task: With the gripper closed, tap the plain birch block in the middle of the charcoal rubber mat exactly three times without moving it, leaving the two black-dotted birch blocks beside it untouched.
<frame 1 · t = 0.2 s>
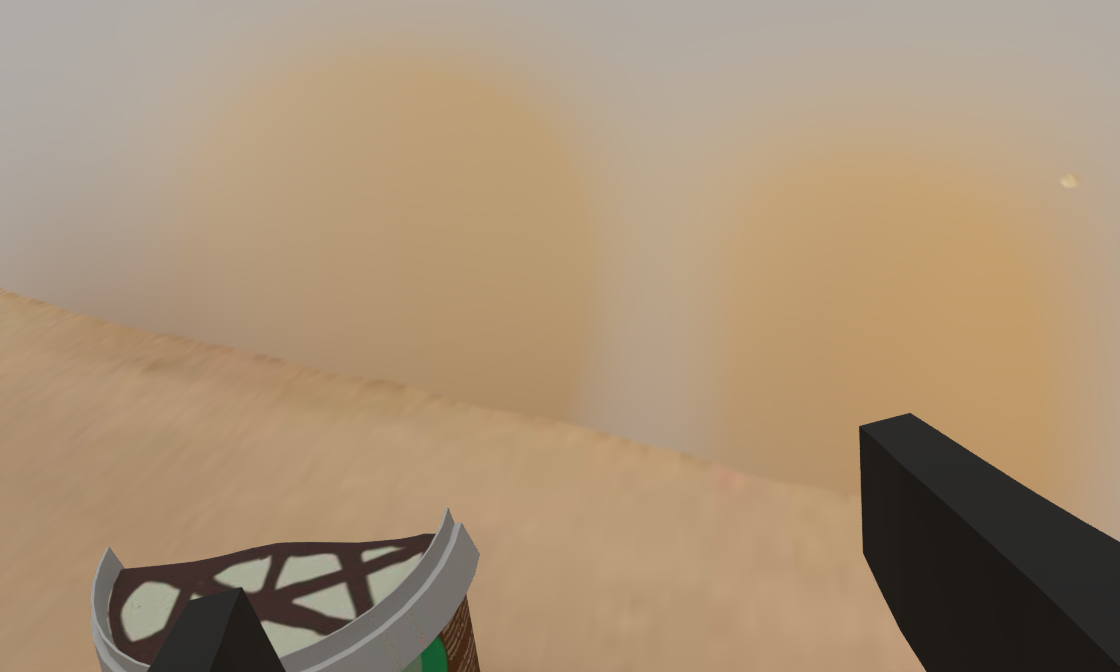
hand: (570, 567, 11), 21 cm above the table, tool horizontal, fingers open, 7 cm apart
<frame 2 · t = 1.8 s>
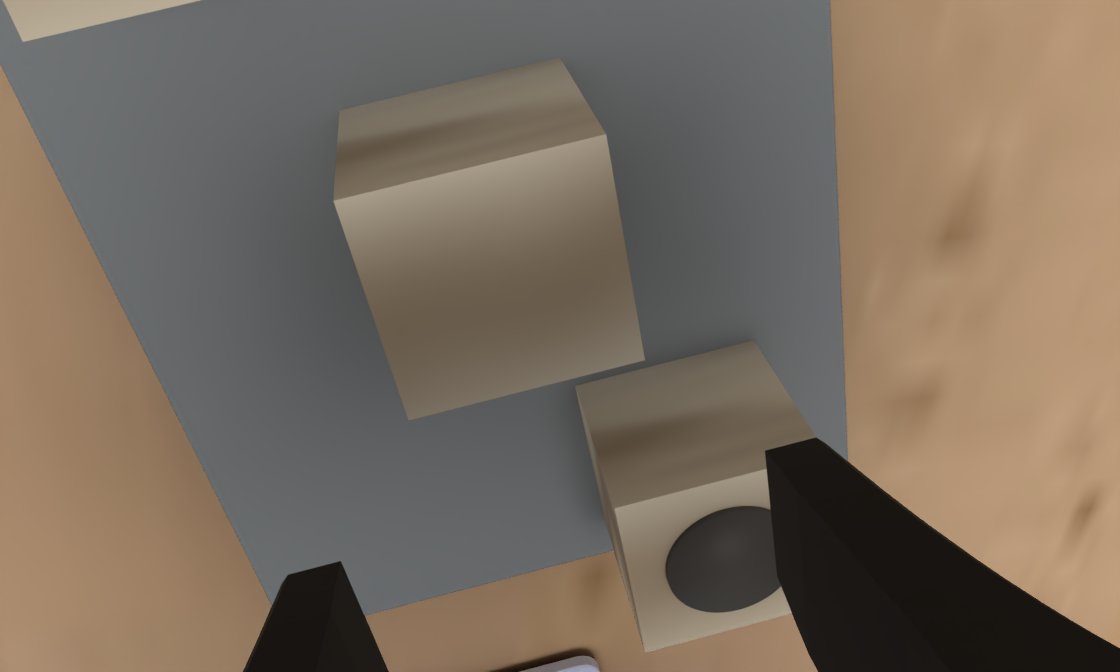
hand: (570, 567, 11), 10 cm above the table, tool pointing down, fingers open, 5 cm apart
plain block: (476, 186, 19), point 1 cm above the table, touching tapping mat
tapping mat: (472, 170, 19), on the table
dotted block 1: (676, 434, 22), point 1 cm above the table, touching tapping mat
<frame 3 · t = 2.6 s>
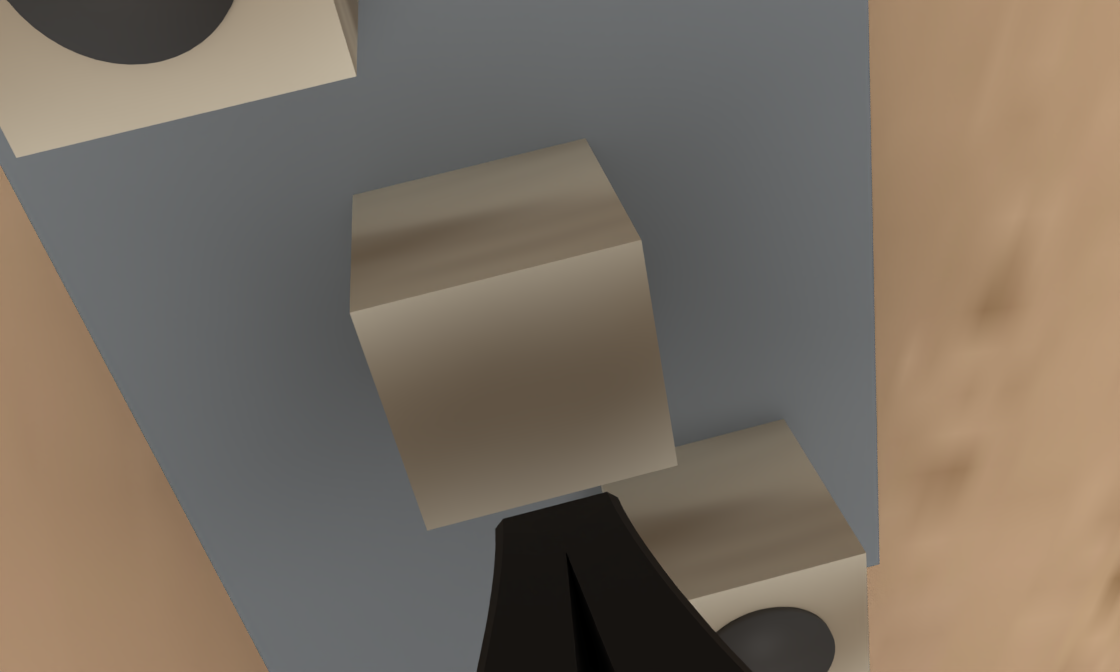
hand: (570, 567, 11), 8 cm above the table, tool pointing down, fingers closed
plain block: (495, 269, 18), point 1 cm above the table, touching tapping mat
tapping mat: (491, 249, 18), on the table
dotted block 1: (701, 513, 22), point 1 cm above the table, touching tapping mat
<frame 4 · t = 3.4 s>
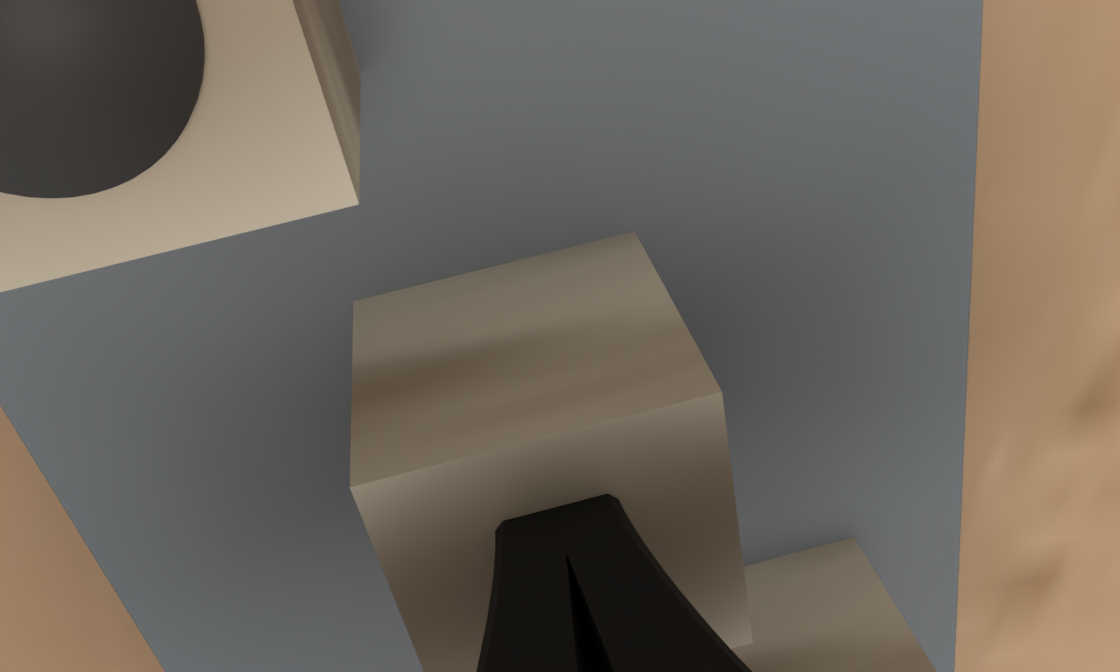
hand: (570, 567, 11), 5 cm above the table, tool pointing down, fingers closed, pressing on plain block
plain block: (524, 381, 15), point 1 cm above the table, touching gripper, tapping mat
tapping mat: (517, 353, 15), on the table
dotted block 1: (755, 640, 19), point 1 cm above the table, touching tapping mat
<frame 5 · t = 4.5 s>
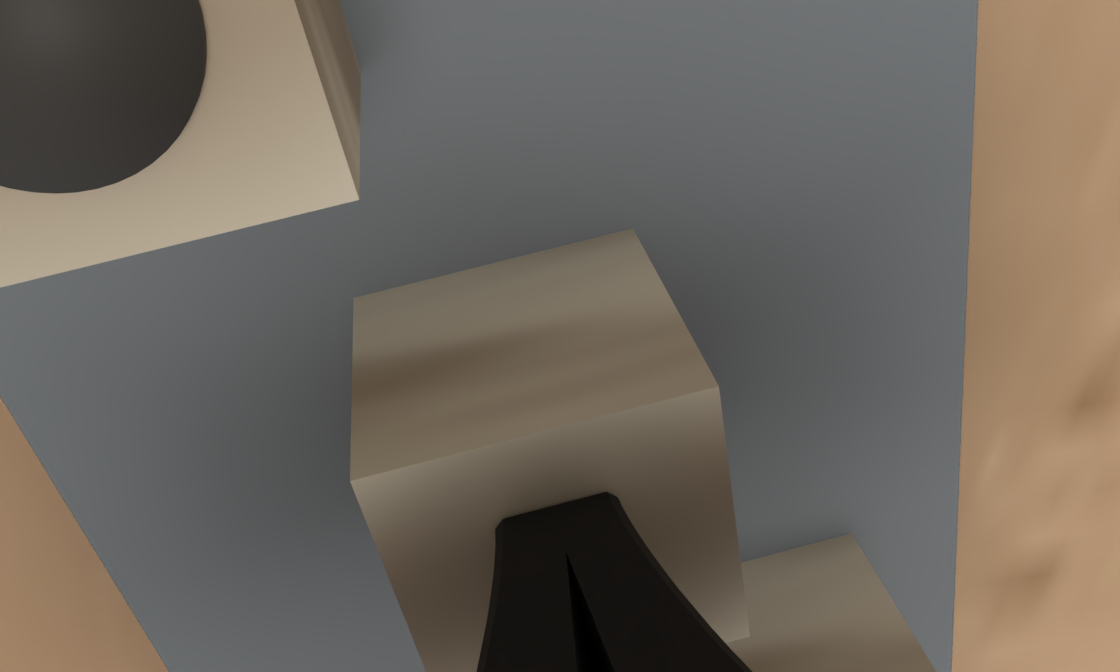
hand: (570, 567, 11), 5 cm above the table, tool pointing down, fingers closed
plain block: (523, 378, 15), point 1 cm above the table, touching tapping mat
tapping mat: (516, 350, 16), on the table
dotted block 1: (753, 636, 19), point 1 cm above the table, touching tapping mat
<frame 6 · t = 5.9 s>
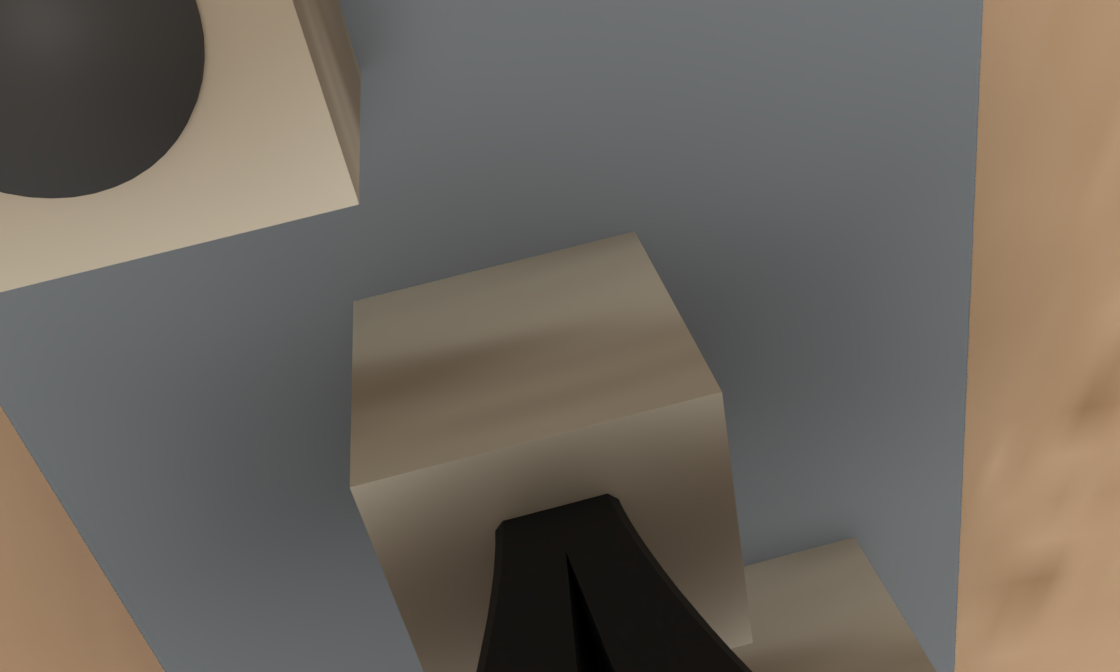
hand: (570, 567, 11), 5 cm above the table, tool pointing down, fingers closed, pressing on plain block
plain block: (524, 381, 15), point 1 cm above the table, touching gripper, tapping mat
tapping mat: (517, 353, 15), on the table
dotted block 1: (755, 640, 19), point 1 cm above the table, touching tapping mat
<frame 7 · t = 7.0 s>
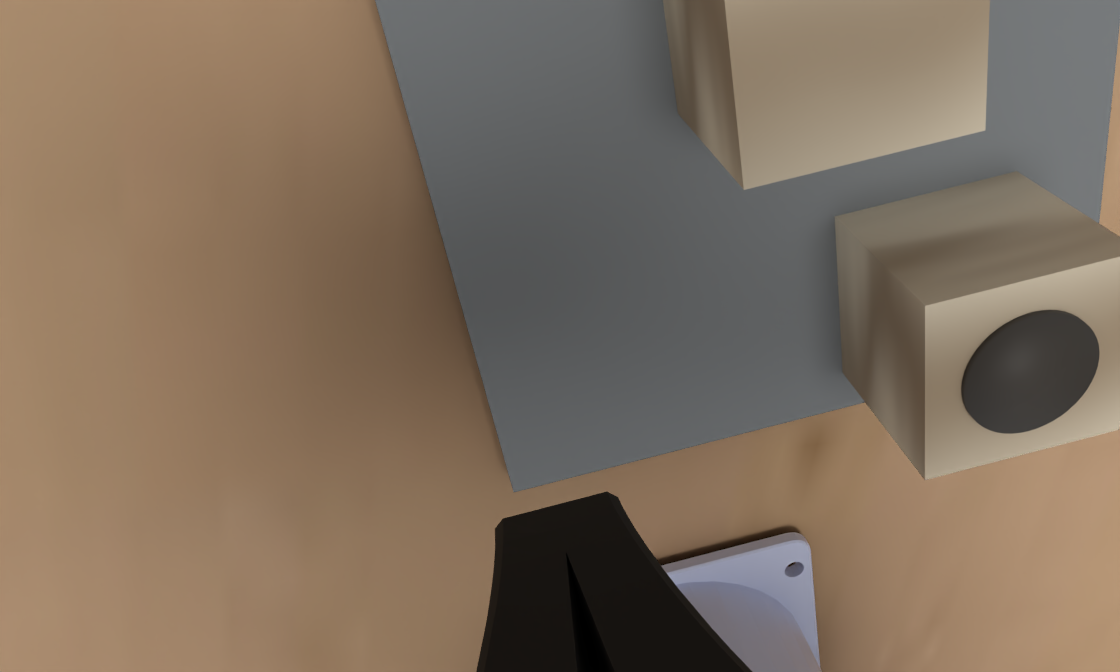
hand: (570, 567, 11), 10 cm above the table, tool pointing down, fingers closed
dotted block 1: (925, 276, 22), point 1 cm above the table, touching tapping mat
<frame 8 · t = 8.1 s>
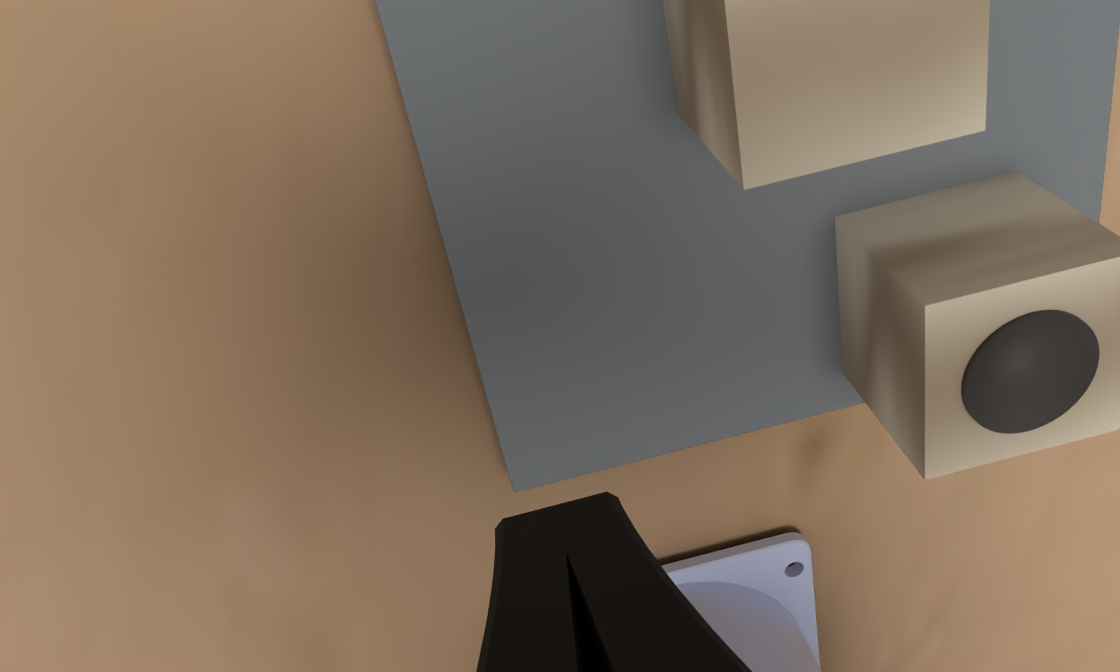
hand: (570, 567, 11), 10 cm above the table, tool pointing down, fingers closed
dotted block 1: (925, 276, 22), point 1 cm above the table, touching tapping mat
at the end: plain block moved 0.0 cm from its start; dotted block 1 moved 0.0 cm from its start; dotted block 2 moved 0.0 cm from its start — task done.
